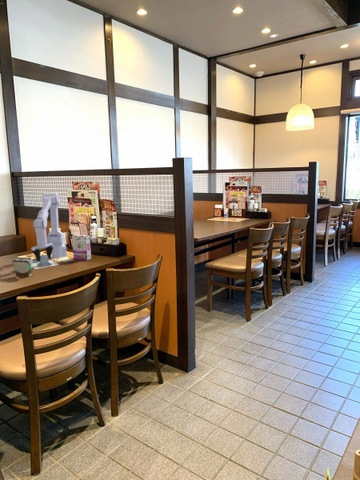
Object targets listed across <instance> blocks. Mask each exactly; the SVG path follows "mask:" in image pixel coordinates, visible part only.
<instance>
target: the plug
mask: <svg viewBox="0 0 360 480" xmlns="http://www.w3.org/2000/svg"><path fill="white" fill-rule="evenodd" d="M48 260H49V259H48V256H47V254H41V255H40V265H45V264H49V261H48Z"/></svg>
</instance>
